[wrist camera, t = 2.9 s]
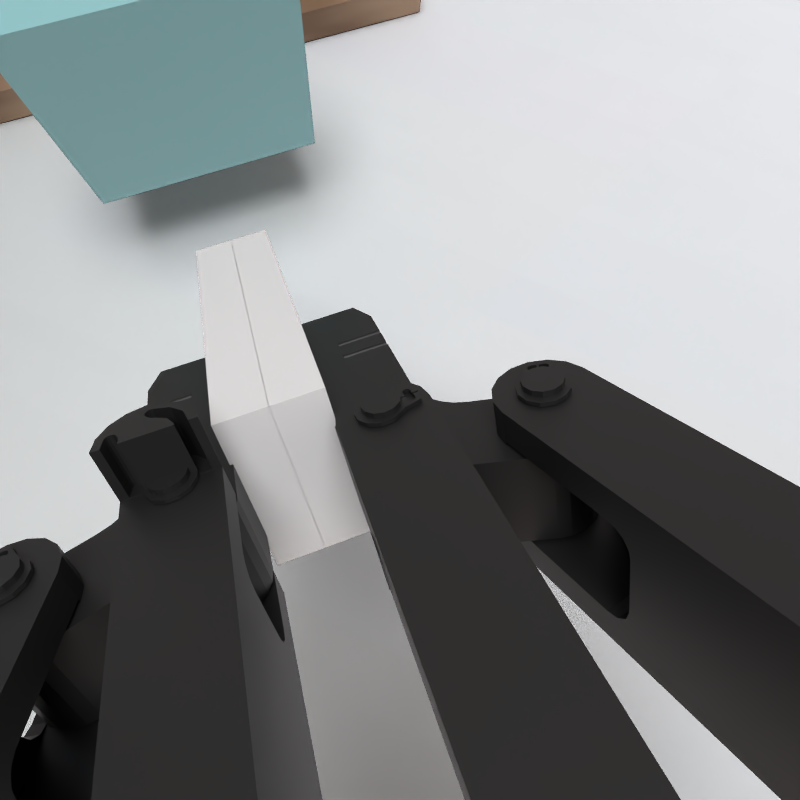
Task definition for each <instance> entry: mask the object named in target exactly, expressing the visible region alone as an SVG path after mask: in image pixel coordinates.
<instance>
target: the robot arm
mask: <svg viewBox="0 0 800 800" xmlns="http://www.w3.org/2000/svg"><path fill="white" fill-rule="evenodd" d="M196 257H197V269H198V280H199V292H200V304H201V315H202V327H203V339H204V350H205V358H202V359H199V360H196V361H193V362H190V363H187V364H184V365H181V366H178V367H174V368H171V369H168V370H165V371H162V372H161V373H160V374H159V376H158V377H157V379H156V380H155V382H154V383H153V385H152V386H151V388H150V389H149V391H148V404H147V406H144V407H142V408H139V409H137V410H135V411H132V412H130V413H128V414H126V415H124V416H123V417H121V418H120V419H118V420H117V421H115V422H114V423H112V424H111V425H109V426H108V427H107V428H106V429H105V430H104V431H103V432H102V433H101V434H100V435H99V436H98V437H97V438H96V439H95V441H94V443H93V446H92V448H91V450H90V452H89V454H90V456H91V457H92V459H93V460H94V462H95V463H96V465H97V466H98V468H99V470H100V471H101V473H102V474H103V476H104V477H105V479H106V480H107V482H108V484H109V485H110V487H111V488H112V490H113V491H114V493H115V494H116V496H117V498H118V499H119V501H120V509H119V519H118V520H116V521H115V522H114V523H113V524H112V525H110V526H109V527H107V528H106V529H104V530H103V531H101V532H100V533H98V534H97V535H95V536H93V537H92V538H90V539H88V540H86V541H85V542H83V543H81V544H80V545H78V546H76V547H74V548H73V549H71V550H69V551H68V552H66V553H64V552H63V551H62V550H61V549H60V547H59V546H58V545H57V544H56V543H54V542H52V541H50V540H48V539H46V538H37V539H25V540H22V541H19V542H16V543H13V544H10V545H6V546H5V547H3V548H1V549H0V800H322V795H321V789H320V784H319V778H318V773H317V768H316V762H315V757H314V752H313V746H312V741H311V735H310V730H309V725H308V719H307V714H306V709H305V703H304V698H303V692H302V687H301V682H300V676H299V671H298V666H297V660H296V655H295V650H294V644H293V639H292V633H291V628H290V623H289V617H288V612H287V607H286V601H285V596H284V592H283V590H282V588H281V586H280V584H279V582H278V580H277V578H276V575H275V573H274V571H273V567H272V561H271V555H270V550H271V552H272V554H273V556H274V558H275V561H276V563H277V565H280V564H283V563H286V562H288V561H291V560H294V559H296V558H299V557H302V556H305V555H307V554H310V553H313V552H315V551H318V550H321V549H324V548H326V547H329V546H332V545H334V544H337V543H340V542H343V541H345V540H348V539H351V538H353V537H356V536H359V535H362V534H364V533H367V532H371V535H372V538H373V541H374V544H375V547H376V550H377V553H378V556H379V559H380V562H381V565H382V568H383V571H384V574H385V577H386V580H387V583H388V586H389V589H390V590H391V593H392V596H393V598H394V601H395V604H396V607H397V610H398V612H399V615H400V618H401V621H402V624H403V626H404V629H405V632H406V635H407V638H408V641H409V643H410V646H411V649H412V652H413V655H414V657H415V660H416V663H417V666H418V669H419V671H420V674H421V677H422V680H423V683H424V686H425V688H426V691H427V694H428V697H429V700H430V702H431V705H432V708H433V711H434V714H435V716H436V719H437V722H438V725H439V728H440V731H441V733H442V736H443V739H444V742H445V745H446V747H447V750H448V753H449V756H450V759H451V761H452V764H453V767H454V770H455V773H456V776H457V778H458V781H459V784H460V787H461V790H462V792H463V795H464V798H465V800H681V799H680V798H679V796H678V795H677V793H676V791H675V790H674V788H673V787H672V785H671V783H670V782H669V780H668V778H667V777H666V775H665V774H664V772H663V770H662V769H661V767H660V766H659V764H658V762H657V761H656V759H655V758H654V756H653V754H652V753H651V751H650V749H649V748H648V746H647V745H646V743H645V741H644V740H643V738H642V737H641V735H640V733H639V732H638V730H637V728H636V727H635V725H634V724H633V722H632V720H631V719H630V717H629V716H628V714H627V712H626V711H625V709H624V708H623V706H622V704H621V703H620V701H619V699H618V698H617V696H616V695H615V693H614V691H613V690H612V688H611V687H610V685H609V683H608V682H607V680H606V678H605V677H604V675H603V674H602V672H601V670H600V669H599V667H598V666H597V664H596V662H595V661H594V659H593V658H592V656H591V654H590V653H589V651H588V649H587V648H586V646H585V645H584V643H583V641H582V640H581V638H580V637H579V635H578V633H577V632H576V630H575V628H574V627H573V625H572V624H571V622H570V620H569V619H568V617H567V616H566V614H565V612H564V611H563V609H562V608H561V606H560V604H559V603H558V601H557V599H556V598H555V596H554V595H553V593H552V591H551V590H550V588H549V587H548V585H547V583H546V582H545V580H544V579H543V577H542V575H541V574H540V572H539V570H538V569H537V567H538V568H539V569H540V570H541V571H542V572H543V573H544V574H545V575H546V576H547V577H548V578H549V579H550V580H551V581H552V582H553V583H554V584H555V585H556V586H558V587H559V588H560V589H561V590H562V591H563V592H564V593H565V594H566V595H567V596H568V597H569V598H570V599H571V600H572V601H573V602H574V603H575V604H576V605H577V606H579V607H580V608H581V609H582V610H583V611H584V612H585V613H586V614H587V615H588V616H589V617H590V618H591V619H592V620H593V621H594V622H595V623H596V624H597V625H599V626H600V627H601V628H602V629H603V630H604V631H605V632H606V633H607V634H608V635H609V636H610V637H611V638H612V639H613V640H614V641H615V642H616V643H617V644H618V645H620V646H621V647H622V648H623V649H624V650H625V651H626V652H627V653H628V654H629V655H630V656H631V657H632V658H633V659H634V660H635V661H636V662H637V663H638V664H639V665H641V666H642V667H643V668H644V669H645V670H646V671H647V672H648V673H649V674H650V675H651V676H652V677H653V678H654V679H655V680H656V681H657V682H658V683H659V684H660V685H662V686H663V687H664V688H665V689H666V690H667V691H668V692H669V693H670V694H671V695H672V696H673V697H674V698H675V699H676V700H677V701H678V702H679V703H680V704H682V705H683V706H684V707H685V708H686V709H687V710H688V711H689V712H690V713H691V714H692V715H693V716H694V717H695V718H696V719H697V720H698V721H699V722H700V723H701V724H703V725H704V726H705V727H706V728H707V729H708V730H709V731H710V732H711V733H712V734H713V735H714V736H715V737H716V738H717V739H718V740H719V741H720V742H721V743H722V744H724V745H725V746H726V747H727V748H728V749H729V750H730V751H731V752H732V753H733V754H734V755H735V756H736V757H737V758H738V759H739V760H740V761H741V762H742V763H744V764H745V765H746V766H747V767H748V768H749V769H750V770H751V771H752V772H753V773H754V774H755V775H756V776H757V777H758V778H759V779H760V780H761V781H762V782H763V783H765V784H766V785H767V786H768V787H769V788H770V789H771V790H772V791H773V792H774V793H775V794H776V795H777V796H778V797H779V798H780V799H781V800H800V487H799V486H797V485H795V484H793V483H792V482H790V481H788V480H786V479H784V478H782V477H781V476H779V475H777V474H775V473H773V472H772V471H770V470H768V469H766V468H764V467H763V466H761V465H759V464H757V463H755V462H753V461H752V460H750V459H748V458H746V457H744V456H743V455H741V454H739V453H737V452H735V451H733V450H732V449H730V448H728V447H726V446H724V445H723V444H721V443H719V442H717V441H715V440H713V439H712V438H710V437H708V436H706V435H704V434H703V433H701V432H699V431H697V430H695V429H694V428H692V427H690V426H688V425H686V424H684V423H683V422H681V421H679V420H677V419H675V418H674V417H672V416H670V415H668V414H666V413H664V412H663V411H661V410H659V409H657V408H655V407H654V406H652V405H650V404H648V403H646V402H644V401H643V400H641V399H639V398H637V397H635V396H634V395H632V394H630V393H628V392H626V391H624V390H623V389H621V388H619V387H617V386H615V385H614V384H612V383H610V382H608V381H606V380H605V379H603V378H601V377H599V376H597V375H595V374H594V373H592V372H590V371H588V370H586V369H585V368H583V367H580V366H577V365H574V364H572V363H569V362H566V361H555V360H542V361H534V362H527V363H525V364H522V365H519V366H517V367H514V368H511V369H510V370H508V371H507V372H506V373H504V374H503V375H502V376H500V377H499V378H498V379H497V381H496V383H495V384H494V386H493V388H492V399H488V400H480V401H472V402H458V403H451V402H441V401H437V400H433V399H432V398H431V396H430V395H429V394H428V393H427V392H426V391H425V390H424V389H423V388H422V387H420V386H418V385H415V384H412V383H410V381H409V379H408V378H407V376H406V374H405V373H404V371H403V369H402V367H401V366H400V364H399V362H398V361H397V359H396V357H395V356H394V354H393V352H392V351H391V349H390V347H389V346H388V344H387V343H386V341H385V339H384V337H383V336H382V334H381V333H380V331H379V329H378V327H377V326H376V324H375V322H374V321H373V319H372V317H371V316H369V315H367V314H365V313H363V312H361V311H359V310H356V309H354V308H351V309H348V310H344V311H341V312H338V313H335V314H332V315H329V316H326V317H323V318H320V319H316V320H313V321H310V322H307V323H304V324H301V322H300V320H299V317H298V314H297V312H296V309H295V306H294V304H293V301H292V298H291V296H290V293H289V291H288V288H287V285H286V283H285V280H284V277H283V275H282V272H281V269H280V267H279V264H278V261H277V259H276V256H275V254H274V251H273V248H272V246H271V243H270V240H269V238H268V235H267V232H266V230H263V231H260V232H256V233H253V234H250V235H247V236H243V237H240V238H237V239H233V240H230V241H227V242H223V243H220V244H217V245H213V246H210V247H207V248H203V249H200V250H197V251H196ZM269 548H270V550H269ZM536 566H537V567H536ZM32 710H33V711H34V712H35V713H36V716H35V718H34V720H33V723H32V725H31V727H30V728H29V730H28V732H27V733H26V735H25V736H24V737H21V736H22V733H23V731H24V728H25V726H26V724H27V721H28V719H29V716H30V714H31V712H32Z"/></svg>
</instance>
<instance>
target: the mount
mask: <svg viewBox="0 0 800 800" xmlns="http://www.w3.org/2000/svg"><path fill="white" fill-rule="evenodd" d="M420 3H421V0H300V5H301V14H302V24H303V34H304V42H307V41H311V40H315V39H319V38H322V37H326V36H330V35H334V34H338V33H341V32H345V31H349V30H353V29H356V28H360V27H364V26H368V25H371V24H375V23H379V22H383V21H386V20H390V19H394V18H398V17H401V16H405V15H409V14H413V13H416V12H419V11H420ZM29 115H33V114H32V113H31V112H30V110H29V109H28V108H27V106H26V105H25V104H24V103H23V101H22V100H21V99H20V98H19V96H18V95H17V94H16V93H15V91H14V90H13V89H12V87H11V86H10V85H9V84H8V82H7V81H6V80H5V79H4V77H3V76H2V75H1V74H0V123H3V122H7V121H11V120H14V119H18V118H22V117H26V116H29Z"/></svg>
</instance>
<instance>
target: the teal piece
mask: <svg viewBox="0 0 800 800" xmlns="http://www.w3.org/2000/svg"><path fill="white" fill-rule="evenodd" d="M0 74H1V75H2V76H3V77H4V79H5V80H6V81H7V82H8V84H9V85H10V86H11V87H12V89H13V90H14V91H15V93H16V94H17V95H18V96H19V98H20V99H21V100H22V101H23V103H24V104H25V105H26V106H27V108H28V109H29V110H30V112H31V113H32V114H33V115H34V117H35V118H36V119H37V120H38V122H39V123H40V124H41V125H42V127H43V128H44V129H45V130H46V132H47V133H48V134H49V136H50V137H51V138H52V139H53V141H54V142H55V143H56V144H57V146H58V147H59V148H60V149H61V151H62V152H63V153H64V154H65V156H66V157H67V158H68V160H69V161H70V162H71V163H72V165H73V166H74V167H75V168H76V170H77V171H78V172H79V173H80V175H81V176H82V177H83V178H84V180H85V181H86V182H87V184H88V185H89V186H90V187H91V189H92V190H93V191H94V192H95V194H96V195H97V196H98V197H99V199H100V200H101V201H102V202H103V204H104V203H108V202H111V201H115V200H118V199H122V198H125V197H129V196H132V195H136V194H139V193H143V192H146V191H150V190H153V189H157V188H160V187H164V186H167V185H170V184H174V183H177V182H181V181H184V180H188V179H191V178H195V177H198V176H202V175H205V174H209V173H212V172H216V171H219V170H223V169H226V168H230V167H233V166H236V165H240V164H243V163H247V162H250V161H254V160H257V159H261V158H264V157H268V156H271V155H275V154H278V153H282V152H285V151H289V150H292V149H296V148H299V147H303V146H306V145H309V144H313V143H315V140H314V130H313V121H312V111H311V101H310V92H309V82H308V72H307V63H306V53H305V43H304V34H303V24H302V14H301V5H300V0H0Z"/></svg>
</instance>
